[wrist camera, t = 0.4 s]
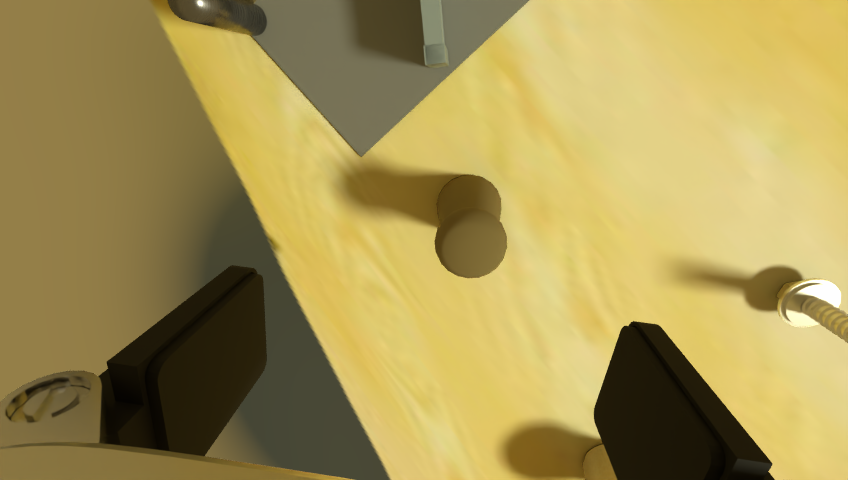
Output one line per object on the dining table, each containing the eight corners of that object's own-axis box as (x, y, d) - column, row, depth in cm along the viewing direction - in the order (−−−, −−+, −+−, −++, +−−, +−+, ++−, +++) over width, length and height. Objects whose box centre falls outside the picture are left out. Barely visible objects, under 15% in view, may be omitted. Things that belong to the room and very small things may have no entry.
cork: (424, 196, 38) (410, 238, 28) (480, 162, 36) (486, 192, 26) (458, 247, 39) (456, 304, 29) (513, 216, 38) (532, 265, 27)
